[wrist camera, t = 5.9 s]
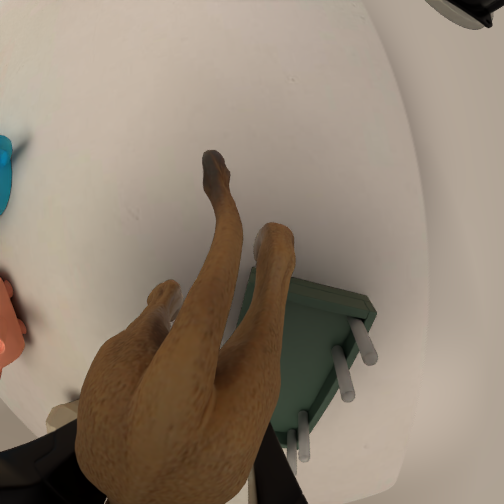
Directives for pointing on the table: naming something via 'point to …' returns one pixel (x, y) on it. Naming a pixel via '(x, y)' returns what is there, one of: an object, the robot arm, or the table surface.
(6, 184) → the mug
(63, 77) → the table surface
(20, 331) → the teapot
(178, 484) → the lion figurine
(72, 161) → the table surface
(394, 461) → the table surface
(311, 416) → the drying rack
